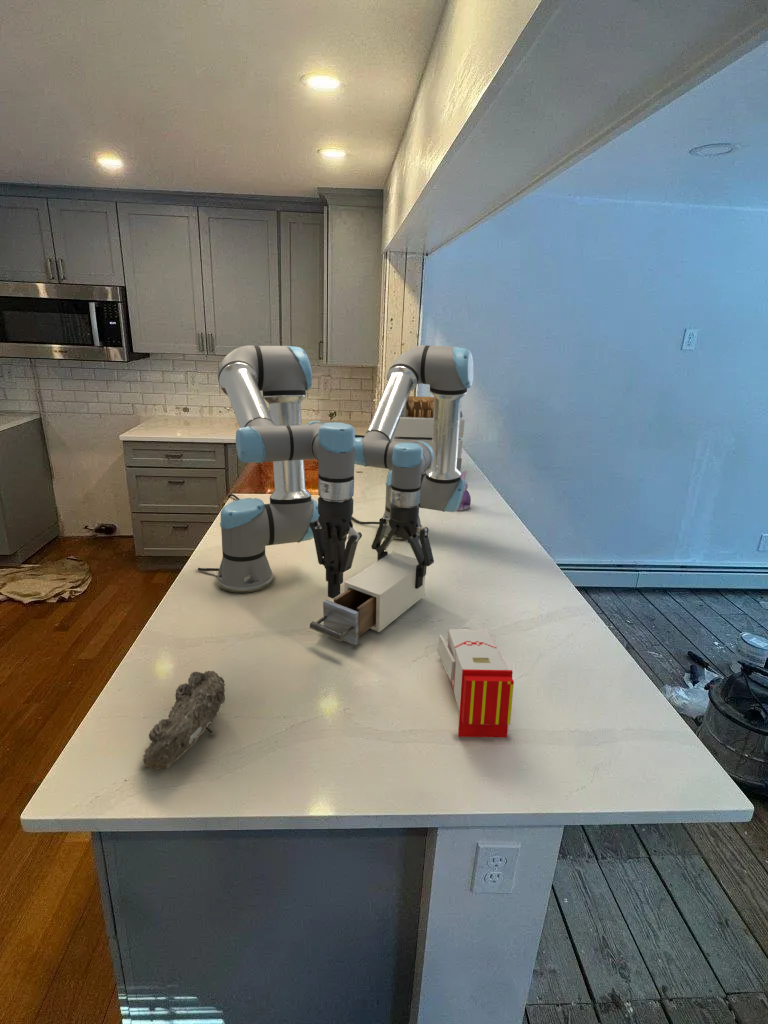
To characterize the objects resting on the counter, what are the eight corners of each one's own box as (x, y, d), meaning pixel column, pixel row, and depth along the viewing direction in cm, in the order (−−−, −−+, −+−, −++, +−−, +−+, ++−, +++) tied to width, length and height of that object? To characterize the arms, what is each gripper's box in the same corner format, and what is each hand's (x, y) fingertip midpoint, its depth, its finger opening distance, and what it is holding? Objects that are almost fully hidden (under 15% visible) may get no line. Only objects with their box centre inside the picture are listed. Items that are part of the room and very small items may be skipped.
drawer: (341, 656, 128) (340, 624, 125) (308, 642, 133) (307, 611, 130) (402, 607, 148) (403, 579, 144) (372, 596, 153) (372, 569, 149)
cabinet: (379, 632, 139) (380, 595, 135) (344, 618, 144) (344, 581, 140) (424, 595, 156) (426, 561, 152) (391, 584, 161) (392, 551, 157)
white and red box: (488, 613, 130) (523, 677, 101) (484, 667, 133) (517, 744, 104) (435, 612, 130) (455, 676, 101) (432, 666, 133) (451, 743, 103)
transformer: (382, 463, 289) (386, 382, 275) (445, 464, 293) (451, 384, 279) (390, 482, 257) (394, 392, 243) (460, 483, 261) (468, 394, 247)
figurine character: (364, 456, 306) (364, 446, 320) (364, 442, 303) (365, 433, 317) (351, 455, 306) (352, 446, 320) (352, 442, 303) (353, 433, 316)
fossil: (173, 672, 114) (226, 639, 109) (207, 702, 116) (260, 672, 111) (117, 763, 94) (178, 728, 89) (159, 797, 97) (220, 765, 92)
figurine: (457, 512, 223) (460, 476, 218) (443, 504, 231) (446, 469, 226) (477, 509, 227) (480, 473, 222) (462, 502, 236) (465, 467, 230)
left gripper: (300, 494, 121) (301, 592, 129) (349, 508, 114) (346, 611, 122) (323, 486, 126) (322, 581, 135) (371, 499, 120) (367, 597, 128)
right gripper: (359, 497, 149) (357, 573, 156) (437, 518, 137) (431, 598, 145) (375, 491, 155) (373, 564, 162) (451, 510, 143) (444, 587, 150)
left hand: (334, 595), depth 128 cm, fingers closed
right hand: (400, 580), depth 153 cm, fingers closed on cabinet, 11 cm apart
